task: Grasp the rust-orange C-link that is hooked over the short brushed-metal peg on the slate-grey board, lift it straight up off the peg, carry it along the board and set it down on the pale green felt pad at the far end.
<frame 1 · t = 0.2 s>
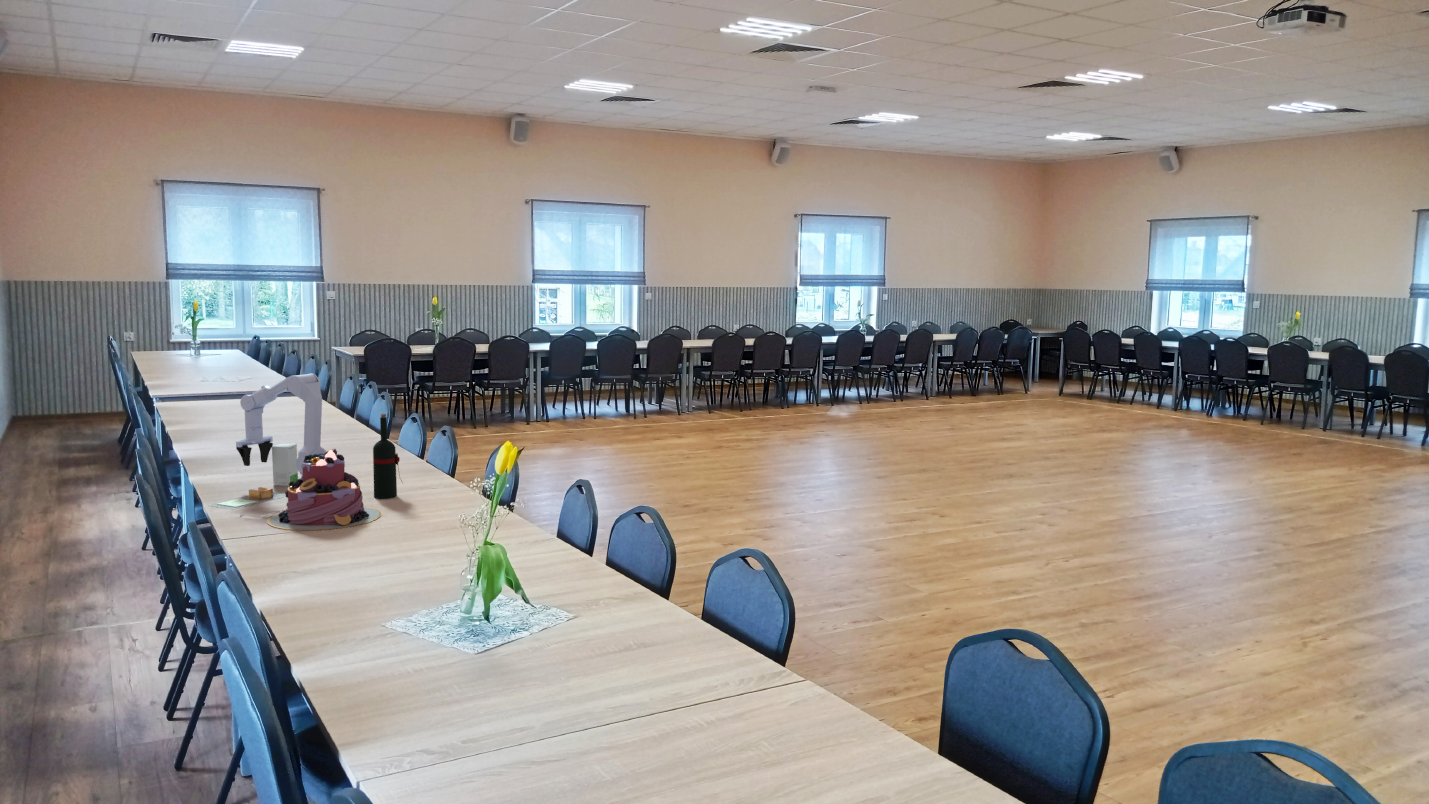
hand: (255, 463, 374), 10 cm above the table, fingers open, 7 cm apart
wine bottle: (388, 497, 369), on the table
skincare box: (285, 486, 384), on the table
wedding cake: (325, 519, 337), on the table
c link: (261, 497, 359), point 1 cm above the table, touching peg board
peg board: (249, 503, 355), on the table
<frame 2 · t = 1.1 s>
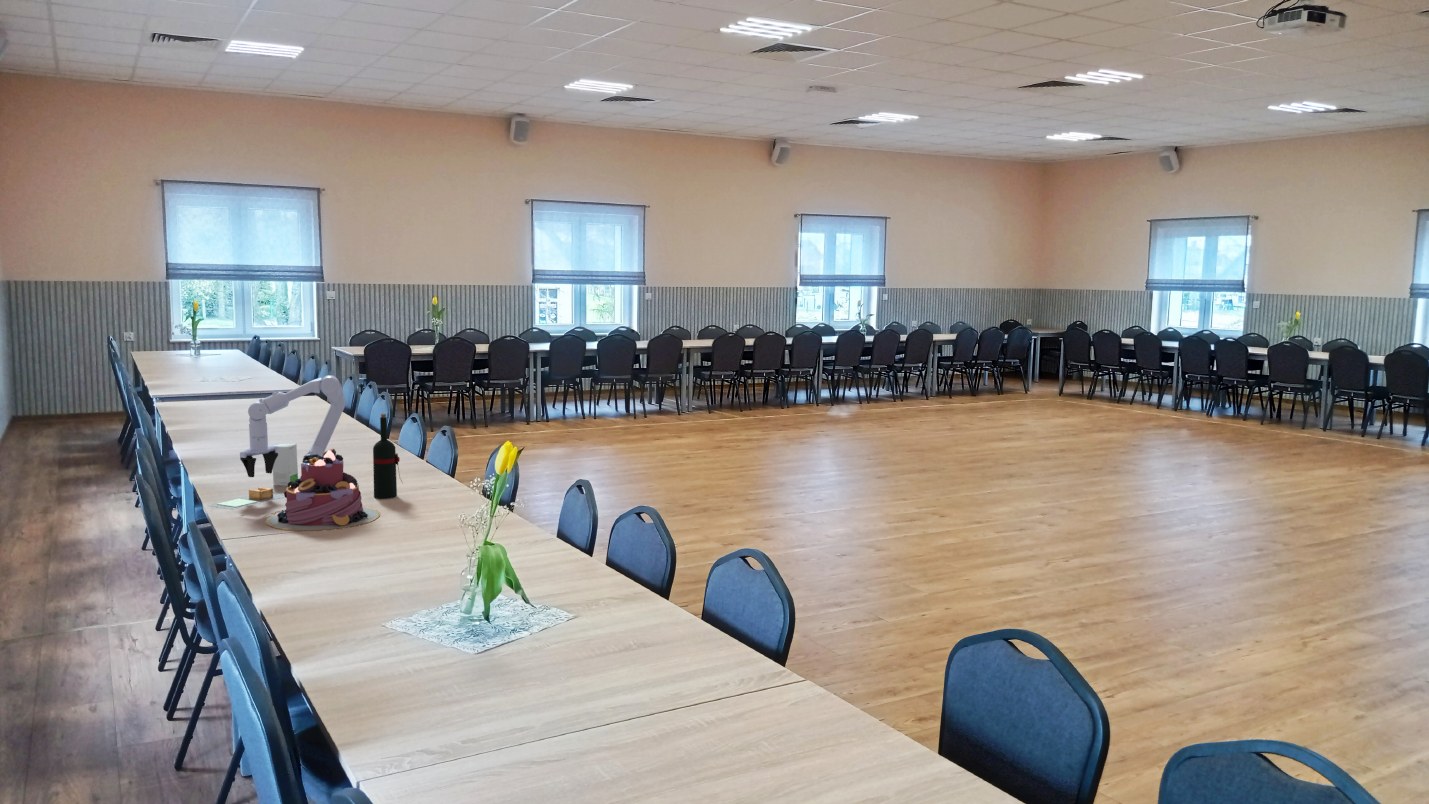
hand: (260, 475, 358), 9 cm above the table, fingers open, 7 cm apart
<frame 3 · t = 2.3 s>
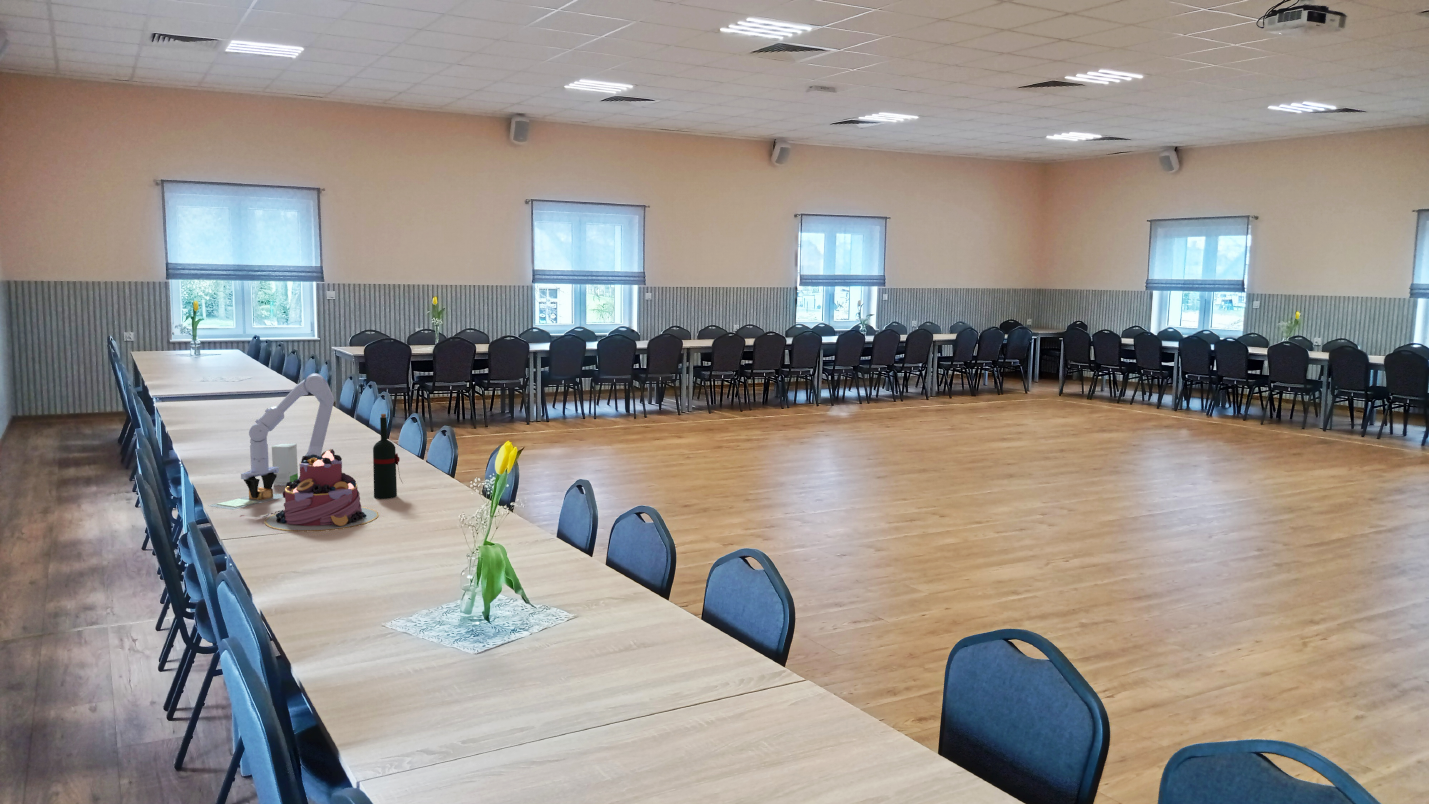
hand: (261, 496, 359), 2 cm above the table, fingers closed on c link, 5 cm apart
c link: (261, 497, 359), point 1 cm above the table, touching gripper, peg board
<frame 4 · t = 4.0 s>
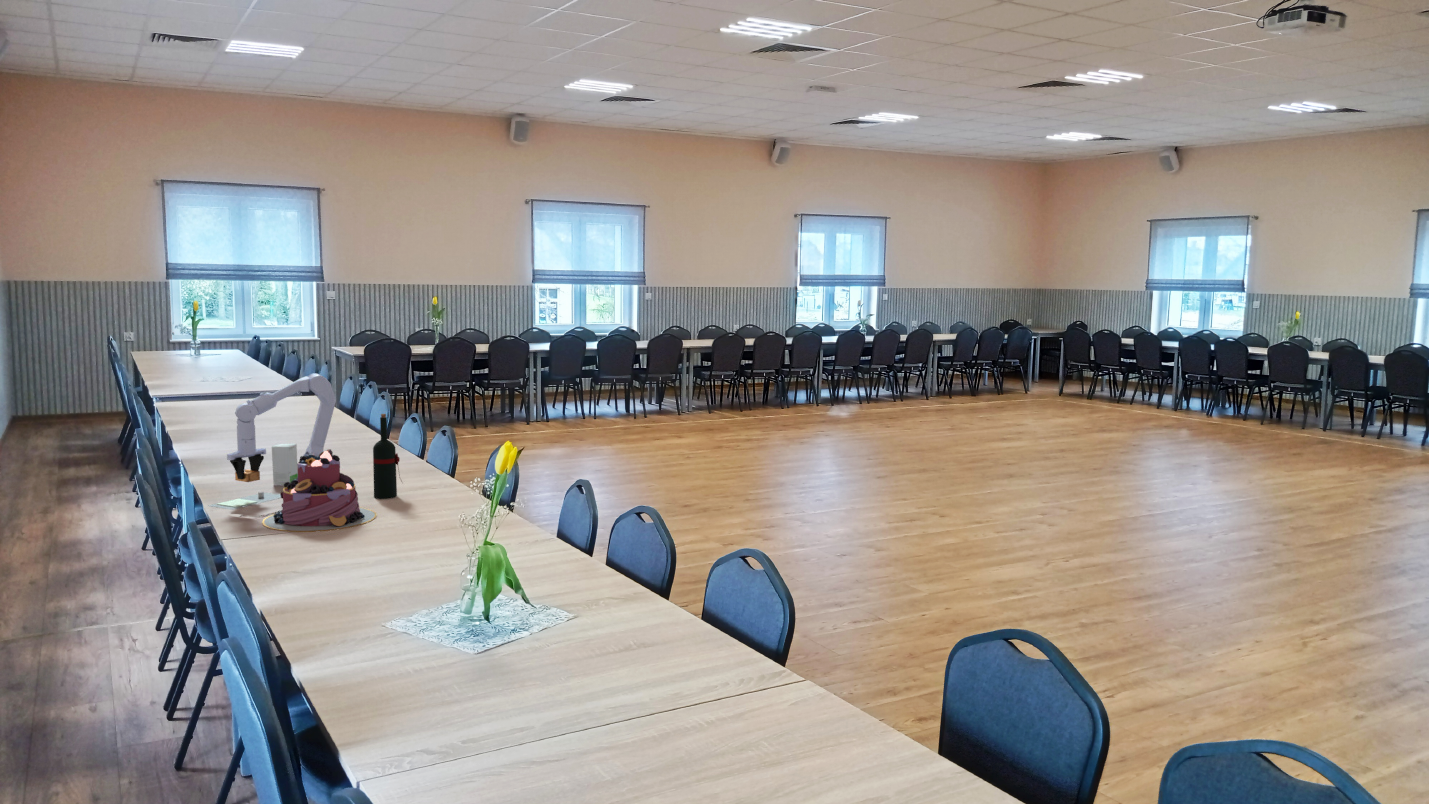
hand: (247, 477, 354), 9 cm above the table, fingers closed on c link, 5 cm apart
c link: (247, 480, 354), point 8 cm above the table, touching gripper
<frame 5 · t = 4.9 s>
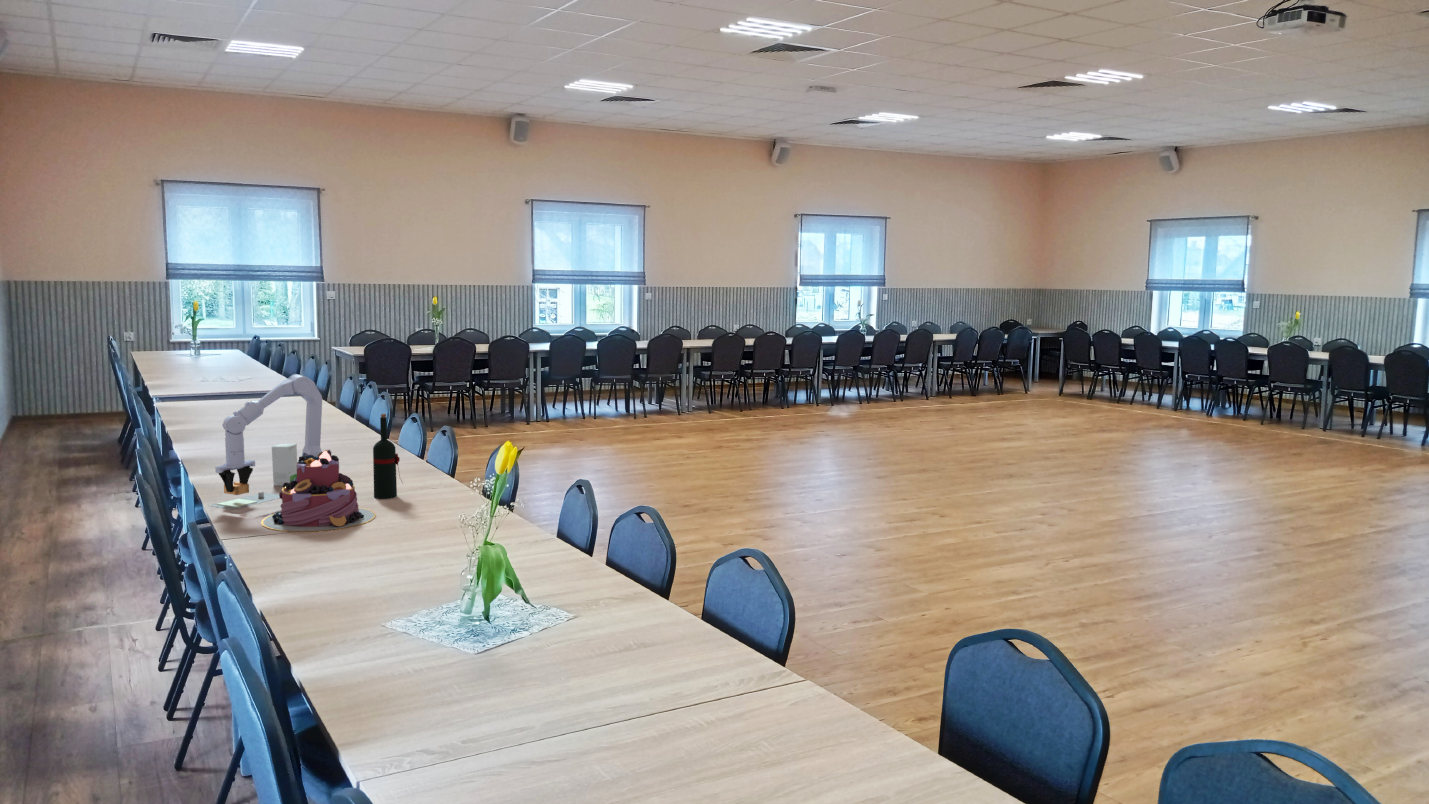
hand: (236, 490, 350), 6 cm above the table, fingers closed on c link, 5 cm apart
c link: (236, 492, 350), point 5 cm above the table, touching gripper
when the fingers open (3 cm above the table, at t = 5.8 s): c link drops 1 cm, resting on peg board.
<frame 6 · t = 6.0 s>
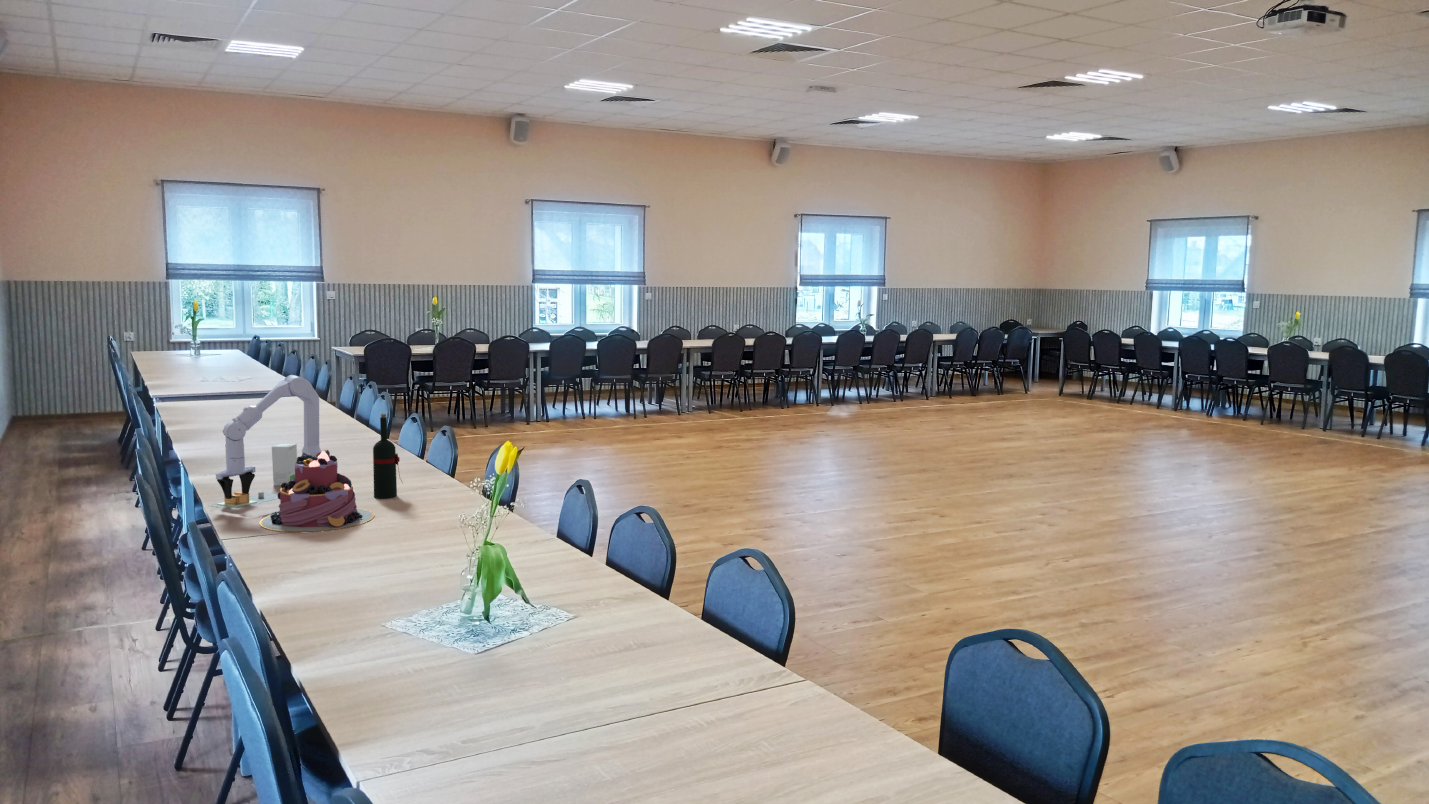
hand: (237, 496, 350), 3 cm above the table, fingers open, 6 cm apart
c link: (237, 502, 350), point 1 cm above the table, touching peg board
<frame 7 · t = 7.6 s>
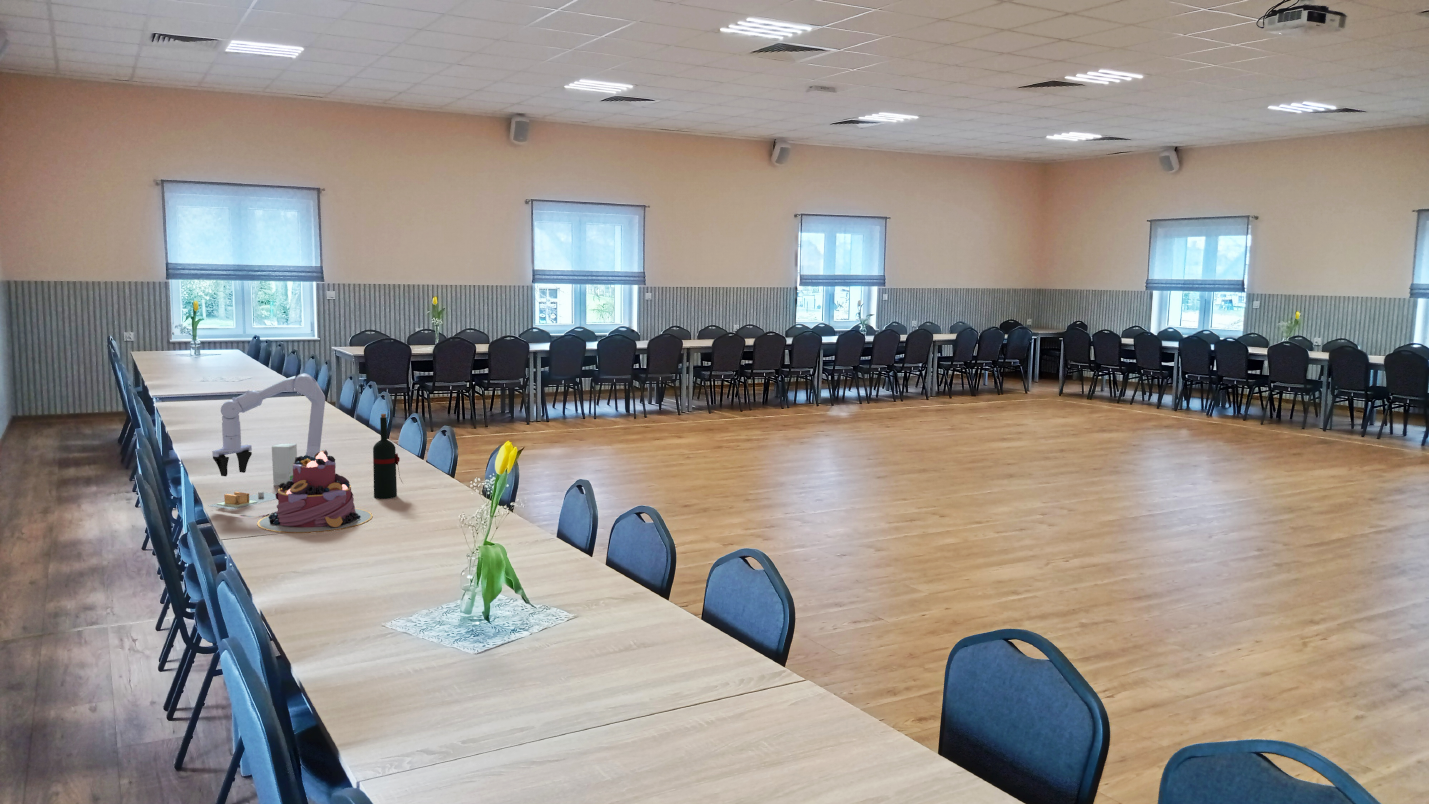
hand: (233, 474, 355), 10 cm above the table, fingers open, 7 cm apart
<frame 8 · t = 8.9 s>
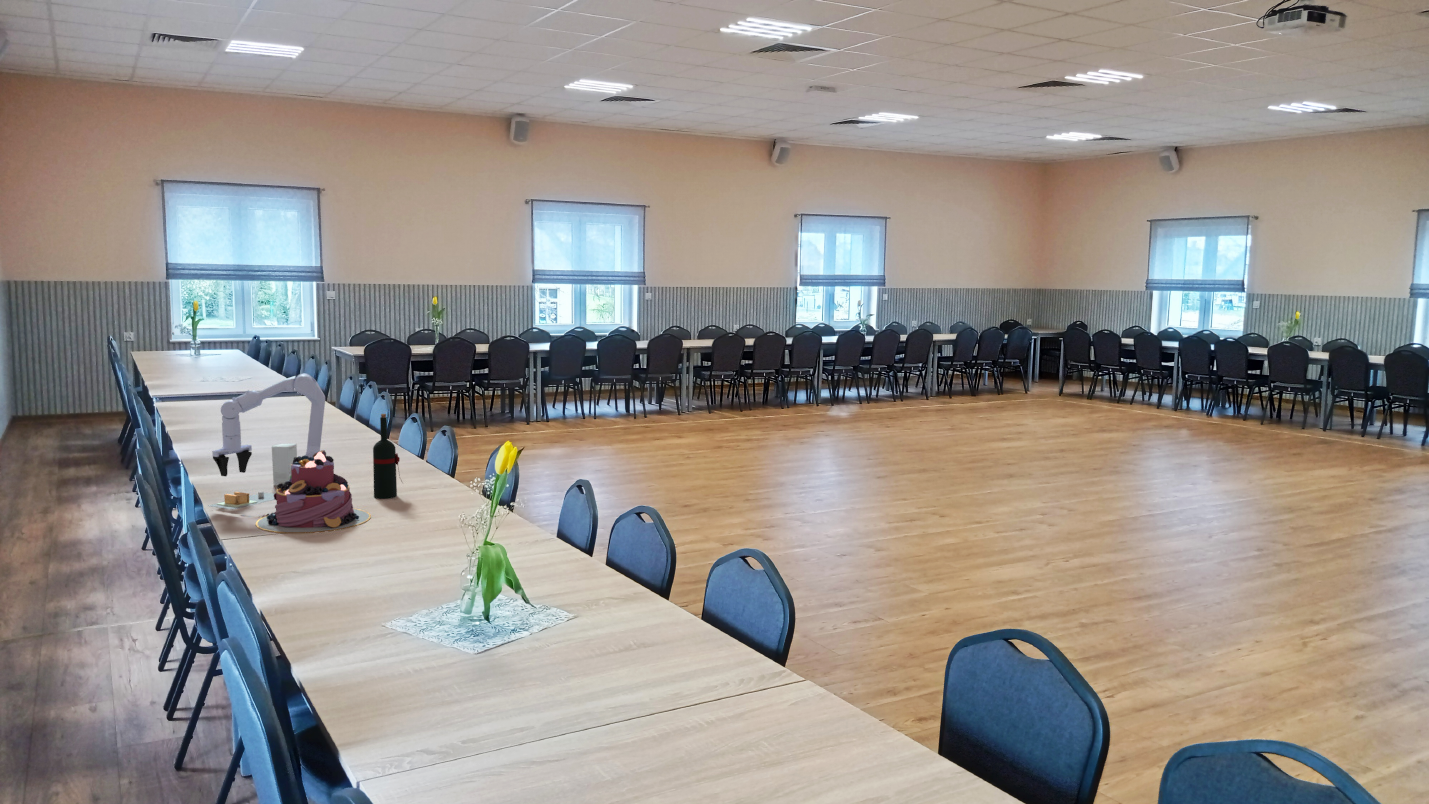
hand: (233, 474, 355), 10 cm above the table, fingers open, 7 cm apart
at the end: c link inside the target area on the peg board (0.1 cm from its centre), point 1.3 cm above the peg board's base; c link tilted 0°; the gripper is holding nothing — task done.
